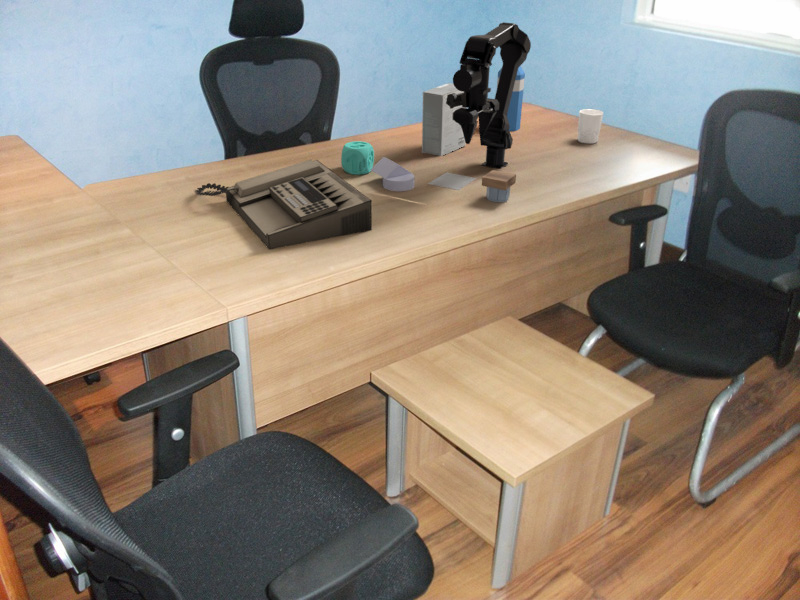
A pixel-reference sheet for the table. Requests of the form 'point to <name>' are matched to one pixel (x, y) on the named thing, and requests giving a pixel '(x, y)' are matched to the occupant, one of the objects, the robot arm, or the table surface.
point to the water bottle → (515, 100)
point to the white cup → (589, 125)
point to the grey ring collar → (497, 194)
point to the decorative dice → (357, 157)
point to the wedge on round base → (394, 175)
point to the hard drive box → (440, 122)
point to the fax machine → (298, 205)
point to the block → (498, 180)
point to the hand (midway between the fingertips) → (474, 139)
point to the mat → (452, 181)
